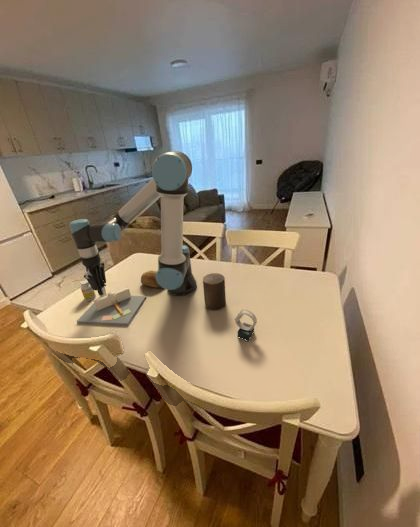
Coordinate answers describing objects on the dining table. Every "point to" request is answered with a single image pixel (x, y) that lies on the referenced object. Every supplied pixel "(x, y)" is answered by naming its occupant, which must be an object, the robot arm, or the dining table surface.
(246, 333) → the watch
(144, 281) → the bread roll
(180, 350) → the dining table surface
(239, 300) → the dining table surface
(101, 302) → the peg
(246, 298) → the dining table surface
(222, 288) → the pillar candle
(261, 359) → the dining table surface
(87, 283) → the supplement bottle
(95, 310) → the grey tray
